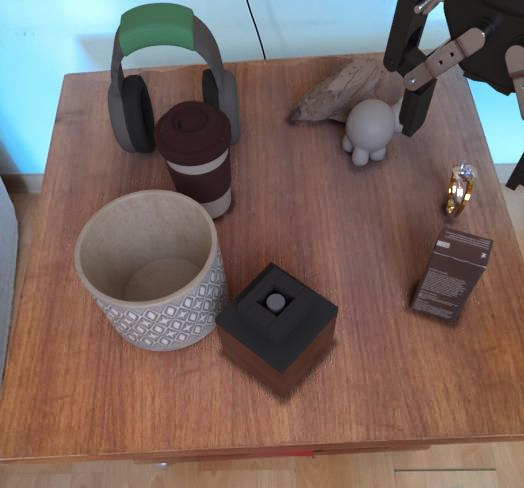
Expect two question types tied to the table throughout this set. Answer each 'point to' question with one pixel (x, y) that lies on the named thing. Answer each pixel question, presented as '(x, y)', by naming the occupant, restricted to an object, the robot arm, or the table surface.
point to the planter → (154, 268)
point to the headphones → (134, 88)
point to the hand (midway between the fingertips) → (461, 154)
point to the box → (451, 273)
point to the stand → (269, 374)
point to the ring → (460, 188)
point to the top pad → (267, 322)
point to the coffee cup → (197, 153)
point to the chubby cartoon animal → (371, 130)
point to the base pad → (292, 338)
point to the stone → (340, 91)
